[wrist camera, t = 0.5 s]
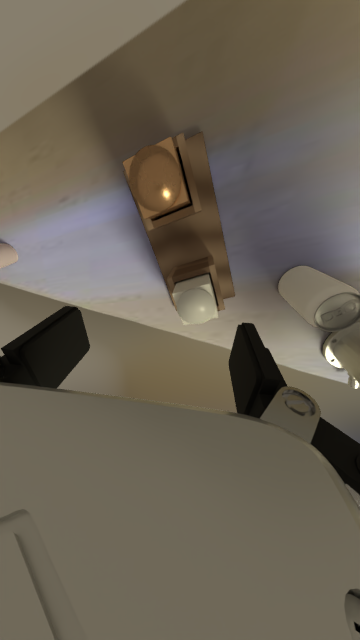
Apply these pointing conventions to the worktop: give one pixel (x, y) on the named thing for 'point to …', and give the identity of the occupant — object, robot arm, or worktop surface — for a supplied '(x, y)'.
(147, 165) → the copper plunger
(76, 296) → the worktop surface
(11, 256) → the smoothie
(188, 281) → the pale plunger
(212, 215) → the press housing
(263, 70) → the worktop surface
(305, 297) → the can
